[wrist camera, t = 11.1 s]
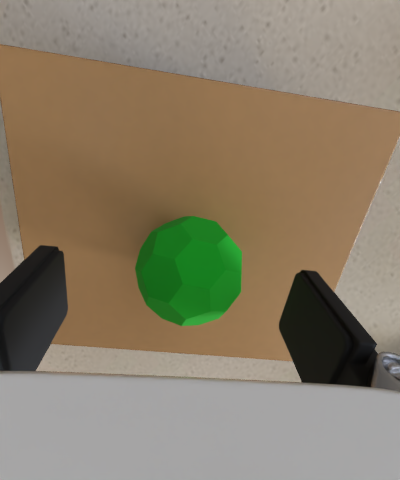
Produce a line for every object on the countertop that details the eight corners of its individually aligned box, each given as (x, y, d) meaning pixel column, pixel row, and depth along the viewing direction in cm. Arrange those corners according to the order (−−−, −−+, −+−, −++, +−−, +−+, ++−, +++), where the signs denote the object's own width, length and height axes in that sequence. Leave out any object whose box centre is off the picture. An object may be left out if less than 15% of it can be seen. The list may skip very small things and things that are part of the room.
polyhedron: (138, 205, 14) (116, 248, 9) (235, 199, 14) (257, 240, 10) (151, 287, 16) (137, 353, 12) (235, 282, 16) (252, 345, 12)
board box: (77, 280, 24) (36, 343, 17) (65, 68, 17) (-9, 42, 11) (275, 298, 26) (304, 362, 19) (334, 112, 19) (410, 113, 12)
